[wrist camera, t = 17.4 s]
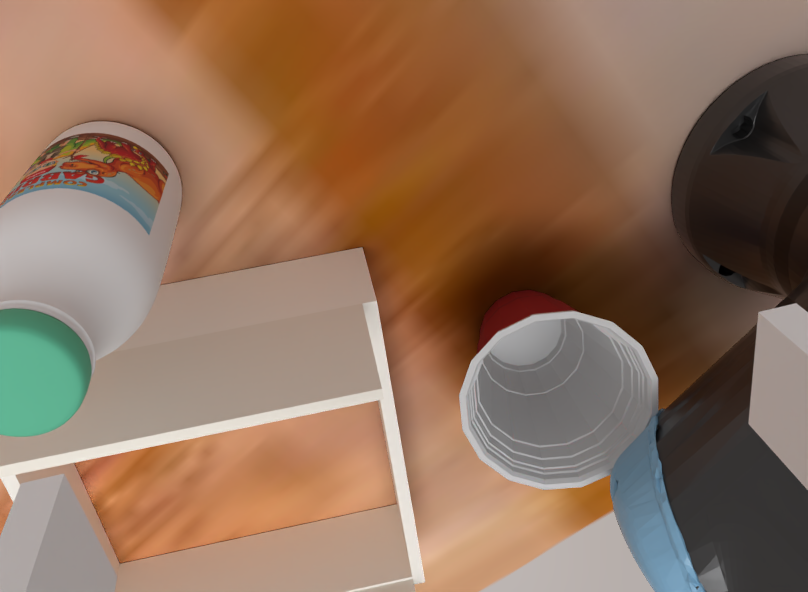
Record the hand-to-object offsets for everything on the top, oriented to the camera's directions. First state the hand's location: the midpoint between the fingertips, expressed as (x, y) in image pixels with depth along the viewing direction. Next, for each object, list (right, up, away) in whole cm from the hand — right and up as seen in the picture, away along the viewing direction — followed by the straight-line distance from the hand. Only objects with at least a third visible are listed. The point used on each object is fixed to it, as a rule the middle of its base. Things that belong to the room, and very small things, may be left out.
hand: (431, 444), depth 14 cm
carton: (-13, -6, +38) cm, 40 cm away
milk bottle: (-17, +9, +29) cm, 35 cm away
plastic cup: (+7, +1, +38) cm, 39 cm away
